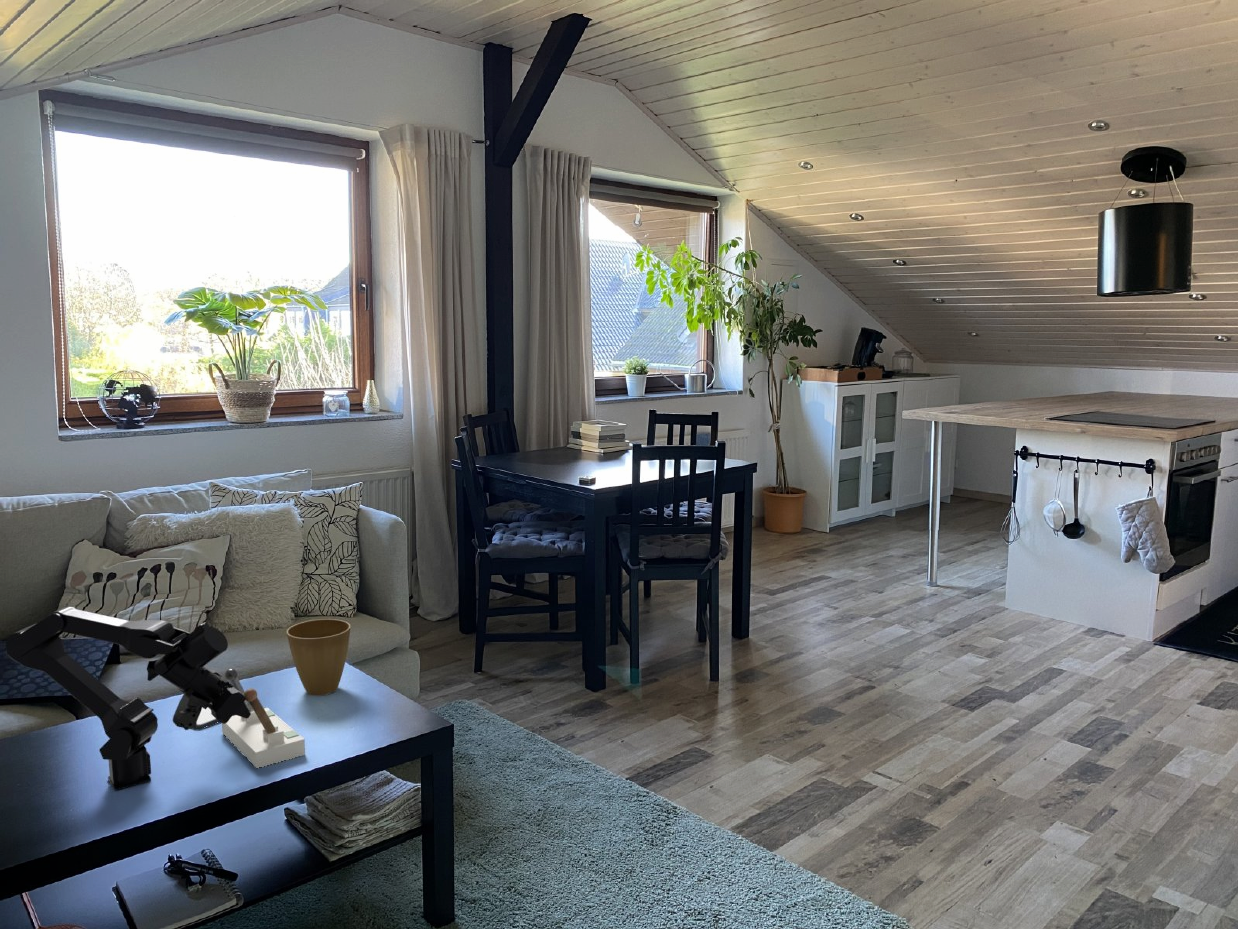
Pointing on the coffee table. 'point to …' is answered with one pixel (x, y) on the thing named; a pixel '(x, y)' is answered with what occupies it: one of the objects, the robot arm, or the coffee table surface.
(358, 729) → the coffee table surface
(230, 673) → the grey lever
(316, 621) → the plant pot
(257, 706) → the walnut lever
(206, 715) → the phone case
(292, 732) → the switch panel
